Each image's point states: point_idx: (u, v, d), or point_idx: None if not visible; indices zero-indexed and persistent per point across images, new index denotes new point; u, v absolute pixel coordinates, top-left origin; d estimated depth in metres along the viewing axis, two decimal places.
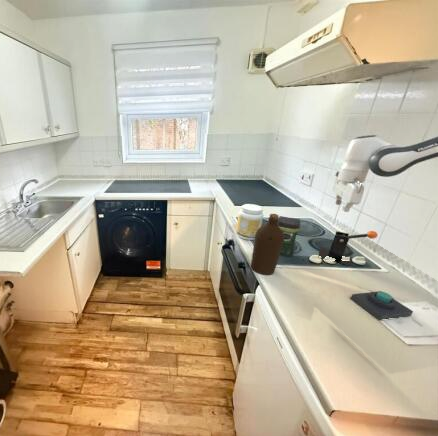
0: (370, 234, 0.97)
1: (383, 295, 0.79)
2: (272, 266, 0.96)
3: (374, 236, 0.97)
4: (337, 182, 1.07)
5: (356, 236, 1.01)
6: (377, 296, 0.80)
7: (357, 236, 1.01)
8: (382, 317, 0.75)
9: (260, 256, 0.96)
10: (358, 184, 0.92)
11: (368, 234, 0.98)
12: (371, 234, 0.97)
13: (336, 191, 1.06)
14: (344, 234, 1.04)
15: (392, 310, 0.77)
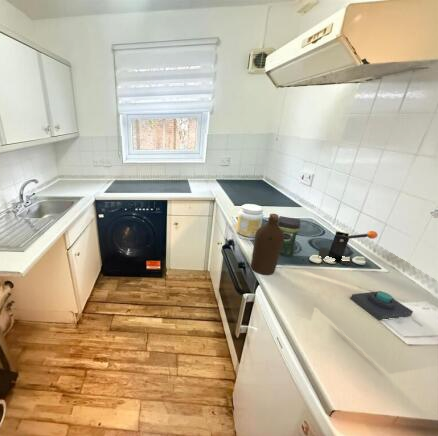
0: (370, 234, 0.97)
1: (383, 295, 0.79)
2: (272, 266, 0.96)
3: (374, 236, 0.97)
4: None
5: (356, 236, 1.01)
6: (377, 296, 0.80)
7: (357, 236, 1.01)
8: (382, 317, 0.75)
9: (260, 256, 0.96)
10: None
11: (368, 234, 0.98)
12: (371, 234, 0.97)
13: None
14: (344, 234, 1.04)
15: (392, 310, 0.77)
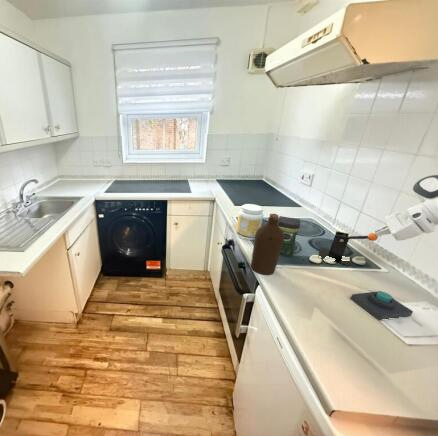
0: (371, 236, 0.98)
1: (383, 295, 0.79)
2: (272, 266, 0.96)
3: (374, 238, 0.97)
4: None
5: (356, 237, 1.01)
6: (377, 296, 0.80)
7: (357, 237, 1.01)
8: (382, 317, 0.75)
9: (260, 256, 0.96)
10: None
11: (369, 236, 0.98)
12: (372, 236, 0.97)
13: None
14: (344, 234, 1.04)
15: (392, 310, 0.77)
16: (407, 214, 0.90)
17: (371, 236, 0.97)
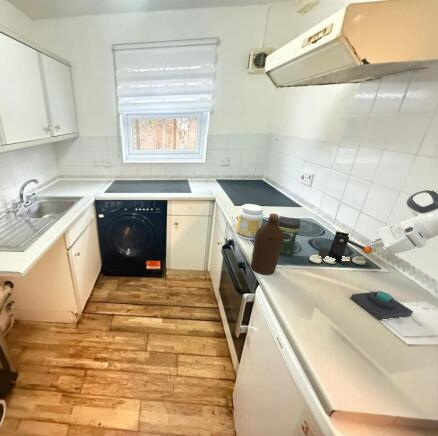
0: (367, 249, 1.00)
1: (383, 295, 0.79)
2: (272, 266, 0.96)
3: (368, 252, 1.00)
4: None
5: (354, 244, 1.02)
6: (377, 296, 0.80)
7: (355, 244, 1.02)
8: (382, 317, 0.75)
9: (260, 256, 0.96)
10: None
11: (365, 248, 1.00)
12: (368, 249, 0.99)
13: None
14: None
15: (392, 310, 0.77)
16: (400, 228, 0.92)
17: (368, 249, 0.99)
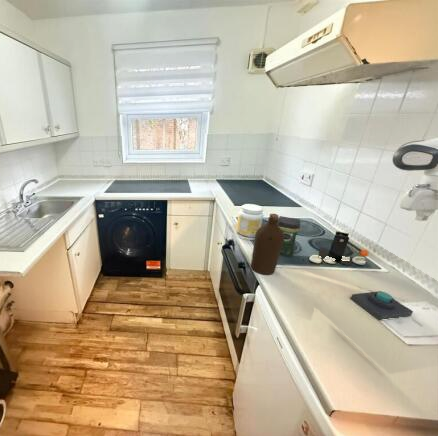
0: (364, 252, 1.01)
1: (383, 295, 0.79)
2: (272, 266, 0.96)
3: (364, 255, 1.01)
4: None
5: (352, 245, 1.03)
6: (377, 296, 0.80)
7: (353, 246, 1.03)
8: (382, 317, 0.75)
9: (260, 256, 0.96)
10: None
11: (362, 251, 1.01)
12: (365, 253, 1.00)
13: None
14: None
15: (392, 310, 0.77)
16: None
17: (365, 252, 1.00)
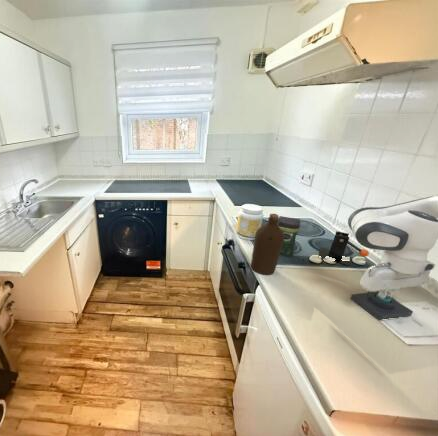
0: (364, 252, 1.01)
1: None
2: (272, 266, 0.96)
3: (364, 255, 1.01)
4: None
5: (352, 245, 1.03)
6: None
7: (353, 246, 1.03)
8: (382, 317, 0.75)
9: (260, 256, 0.96)
10: None
11: (362, 251, 1.01)
12: (365, 253, 1.00)
13: None
14: None
15: (392, 310, 0.77)
16: None
17: (365, 252, 1.00)
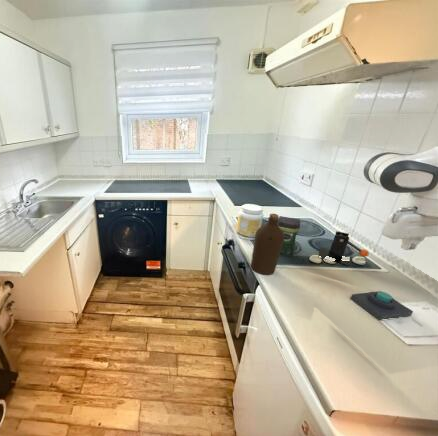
0: (364, 252, 1.01)
1: (383, 295, 0.79)
2: (272, 266, 0.96)
3: (364, 255, 1.01)
4: None
5: (352, 245, 1.03)
6: (377, 296, 0.80)
7: (353, 246, 1.03)
8: (382, 317, 0.75)
9: (260, 256, 0.96)
10: None
11: (362, 251, 1.01)
12: (365, 253, 1.00)
13: None
14: None
15: (392, 310, 0.77)
16: None
17: (365, 252, 1.00)
